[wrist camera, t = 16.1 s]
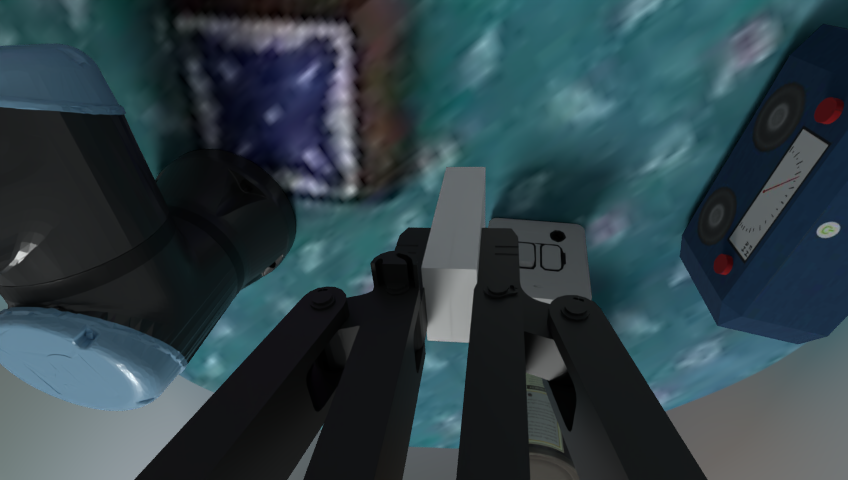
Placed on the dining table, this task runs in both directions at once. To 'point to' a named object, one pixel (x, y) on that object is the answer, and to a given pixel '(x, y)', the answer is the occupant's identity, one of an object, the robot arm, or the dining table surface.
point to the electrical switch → (550, 258)
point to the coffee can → (546, 437)
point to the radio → (782, 206)
